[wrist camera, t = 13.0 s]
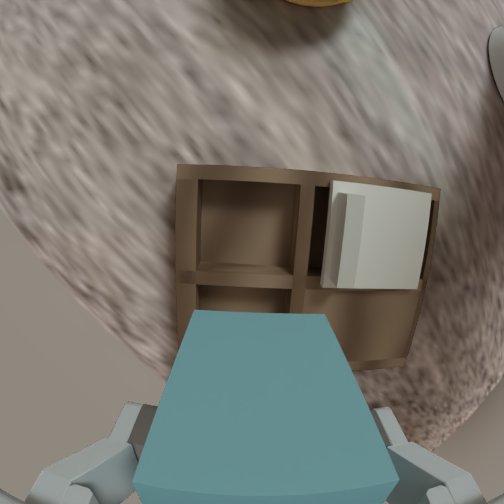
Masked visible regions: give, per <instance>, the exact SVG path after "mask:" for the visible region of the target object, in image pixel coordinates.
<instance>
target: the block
mask: <svg viewBox="0 0 504 504" xmlns="http://www.w3.org/2000/svg"><path fill="white" fill-rule="evenodd" d="M398 481H399V477H398V475H397V472H396V470H395V468H394V465H393V463H392V460H391V458H390V456H389V453H388V451H387V449H386V446H385V444H384V442H383V439H382V437H381V435H380V432H379V430H378V428H377V426H376V423H375V421H374V419H373V416H372V414H371V412H370V410H369V407H368V405H367V403H366V401H365V399H364V396H363V394H362V392H361V390H360V388H359V385H358V383H357V381H356V379H355V377H354V374H353V372H352V370H351V368H350V366H349V364H348V362H347V359H346V357H345V355H344V353H343V351H342V349H341V347H340V345H339V342H338V340H337V338H336V336H335V334H334V332H333V330H332V328H331V326H330V324H329V322H328V320H327V317H326V315H325V314H285V313H251V312H228V311H209V310H194V312H193V314H192V317H191V319H190V322H189V325H188V327H187V330H186V332H185V335H184V338H183V340H182V343H181V346H180V348H179V351H178V353H177V356H176V359H175V362H174V364H173V367H172V370H171V372H170V375H169V378H168V380H167V383H166V386H165V389H164V391H163V395H162V397H161V400H160V402H159V405H158V408H157V411H156V414H155V416H154V419H153V422H152V425H151V428H150V431H149V434H148V436H147V439H146V442H145V445H144V448H143V451H142V454H141V457H140V460H139V463H138V466H137V469H136V472H135V475H134V478H133V481H132V483H133V485H134V487H135V489H136V491H137V494H138V496H139V498H140V500H141V502H142V504H383V503H384V501H385V500H386V499H387V497H388V496H389V495H390V493H391V492H392V490H393V489H394V487H395V486H396V484H397V483H398Z"/></svg>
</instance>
